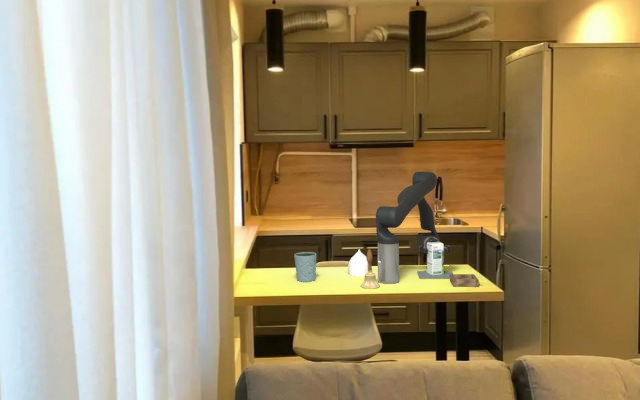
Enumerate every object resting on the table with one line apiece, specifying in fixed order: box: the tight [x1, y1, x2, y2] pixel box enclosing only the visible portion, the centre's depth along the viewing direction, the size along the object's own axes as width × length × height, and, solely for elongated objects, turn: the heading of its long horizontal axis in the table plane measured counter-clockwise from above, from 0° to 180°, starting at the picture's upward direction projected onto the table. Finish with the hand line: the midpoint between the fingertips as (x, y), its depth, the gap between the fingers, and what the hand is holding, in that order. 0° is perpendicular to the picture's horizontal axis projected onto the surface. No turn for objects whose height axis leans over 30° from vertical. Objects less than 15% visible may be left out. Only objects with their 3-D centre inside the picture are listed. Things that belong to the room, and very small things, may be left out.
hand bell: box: [360, 249, 381, 290], centre depth 236 cm, size 8×8×16 cm
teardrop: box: [347, 248, 368, 277], centre depth 260 cm, size 11×11×12 cm
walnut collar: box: [449, 273, 480, 288], centre depth 238 cm, size 10×10×3 cm
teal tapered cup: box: [293, 251, 317, 283], centre depth 249 cm, size 10×10×12 cm
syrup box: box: [426, 241, 445, 275], centre depth 253 cm, size 6×6×14 cm
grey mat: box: [416, 270, 454, 280], centre depth 253 cm, size 16×12×1 cm
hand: (436, 251), depth 251 cm, fingers open, 8 cm apart
